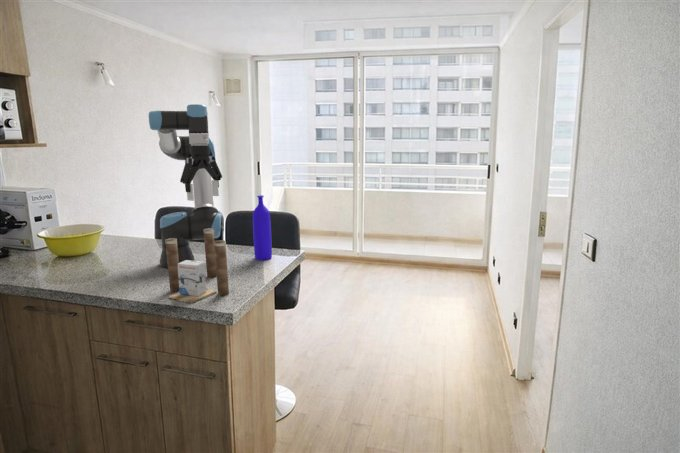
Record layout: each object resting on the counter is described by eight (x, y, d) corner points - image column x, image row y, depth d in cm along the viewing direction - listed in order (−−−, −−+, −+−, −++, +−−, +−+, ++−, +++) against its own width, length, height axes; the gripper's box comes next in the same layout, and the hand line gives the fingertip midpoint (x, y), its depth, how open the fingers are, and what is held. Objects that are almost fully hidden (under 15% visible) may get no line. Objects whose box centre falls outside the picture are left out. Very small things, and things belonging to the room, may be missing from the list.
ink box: (178, 294, 162) (176, 263, 160) (187, 289, 167) (184, 259, 164) (199, 296, 160) (196, 265, 157) (207, 291, 164) (204, 261, 162)
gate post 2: (204, 277, 184) (201, 230, 180) (212, 274, 188) (208, 228, 183) (212, 278, 182) (208, 231, 178) (219, 275, 186) (215, 229, 182)
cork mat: (168, 298, 161) (167, 296, 161) (193, 288, 171) (193, 286, 171) (191, 303, 155) (191, 301, 155) (216, 293, 165) (216, 291, 165)
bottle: (255, 256, 215) (252, 194, 208) (272, 255, 215) (270, 194, 209) (253, 260, 207) (250, 197, 200) (271, 260, 207) (268, 196, 201)
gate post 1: (167, 291, 168) (162, 240, 164) (176, 287, 171) (171, 237, 167) (175, 293, 166) (170, 241, 162) (183, 289, 169) (179, 238, 165)
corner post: (215, 294, 164) (211, 242, 159) (223, 291, 167) (219, 239, 163) (223, 296, 162) (220, 243, 157) (231, 293, 165) (228, 241, 161)
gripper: (181, 145, 163) (186, 203, 167) (228, 144, 184) (231, 194, 188) (167, 145, 166) (172, 201, 171) (215, 144, 188) (218, 193, 192)
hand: (203, 198), depth 179 cm, fingers open, 13 cm apart
